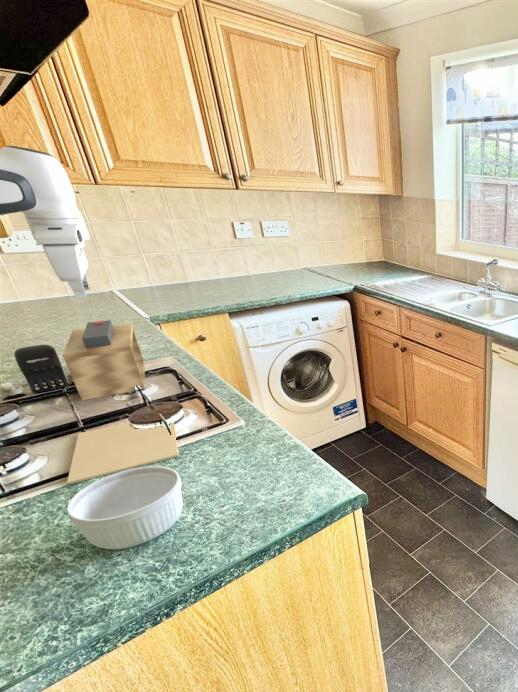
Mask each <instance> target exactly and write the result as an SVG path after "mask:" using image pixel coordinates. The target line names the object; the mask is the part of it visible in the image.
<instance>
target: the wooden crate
mask: <svg viewBox="0 0 518 692" xmlns="http://www.w3.org/2000/svg"><path fill="white" fill-rule="evenodd" d="M113 328H114V329H113V335H112V341H111V345H105V346H97V347H89V348H85V345H84V343H83V340H82V337H83V334H84V332H85V329H86V328H80V329H72V331H71V333H70V336H69V337H68V339H67V342H66V345H65V348H64V350H63V353H62V357H63V359H64V361H65V365H66V367H67V369H68V371H69V373H70V376H71V379H72V381H73V383H74V386H75V389H76V390H77V392H78V396H79V398H80V400H81V401H86V400H92V399H98V398H99V399H100V398H105V397H109V396H115V395H121V394H126V393H132V392H135V391H134V390H135V386H136V385H139V386H140V387H141V388H142V389H143V390H146V363H145V360H144V357H143V353H142V351H141V347H140V345H139V341H138V338H137V336H136V333H135V330H134V326H133V323H127V324H119V325H118V324H117V325H113ZM143 390H142V391H143Z"/></svg>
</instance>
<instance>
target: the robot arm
mask: <svg viewBox="0 0 518 692" xmlns="http://www.w3.org/2000/svg"><path fill="white" fill-rule="evenodd" d="M15 213H22V214H23V215H24V218H25V220H26V223H27V226H28V227H29V230H30V232H31V235H32V237H33V240H34V241H35V242H36V244H37V245H39V246H42V249H43V251H44V254H45V256H46V258H47V259H48V261H49V264H50V265H51V268H52V270H53V271H54V273H55V275H56V276H57V278H58V279H59V280H60V281H61V282H63V283H64V282H67V283H68V285H69V287H70V289H71V290H72V292H73V294H74V297H75V298H76V299H77V300H81V299H82V300H83V299H86V298H87V297H88V294H87V291H89V290H90V284H89V280H88V275H87V271H88V268H89V261H88V258H87V256H86V255H87V254H86V253H85V250H84V248H85V247H86V244H85V241H88V240H90V239H91V236H90V233H89V231H88V228H87V224H86V222H85V219H84V217H83V215H82V213H81V212H80V210H79V209H78V205H77V202H76V193H75V191H74V188H73V186H72V183H71V181H70V178H69V176H68V174H67V171H66V170H65V168H64V166H63V165H62V163H61V161H60V160H59V159H57V158H56V157H55V156H53V155H52V154H50V153H47V152H45V151H44V152H43V151H41V150H37V149H32V148H27V147H20V146H16V145H4V146H2V148H0V217H2V216H6V215H8V214H15Z"/></svg>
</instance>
